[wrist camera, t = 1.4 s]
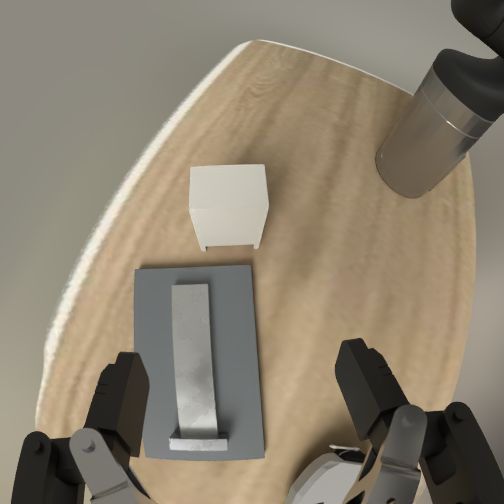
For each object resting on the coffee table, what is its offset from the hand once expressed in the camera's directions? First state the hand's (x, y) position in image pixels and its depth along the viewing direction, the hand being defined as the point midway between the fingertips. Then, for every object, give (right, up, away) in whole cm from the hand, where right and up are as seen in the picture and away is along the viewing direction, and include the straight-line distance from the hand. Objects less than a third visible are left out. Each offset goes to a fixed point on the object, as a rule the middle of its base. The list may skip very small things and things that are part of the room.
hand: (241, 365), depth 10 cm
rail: (-5, -7, +15) cm, 17 cm away
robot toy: (+11, -22, +11) cm, 27 cm away
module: (-2, +6, +20) cm, 21 cm away
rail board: (-5, -7, +15) cm, 17 cm away
